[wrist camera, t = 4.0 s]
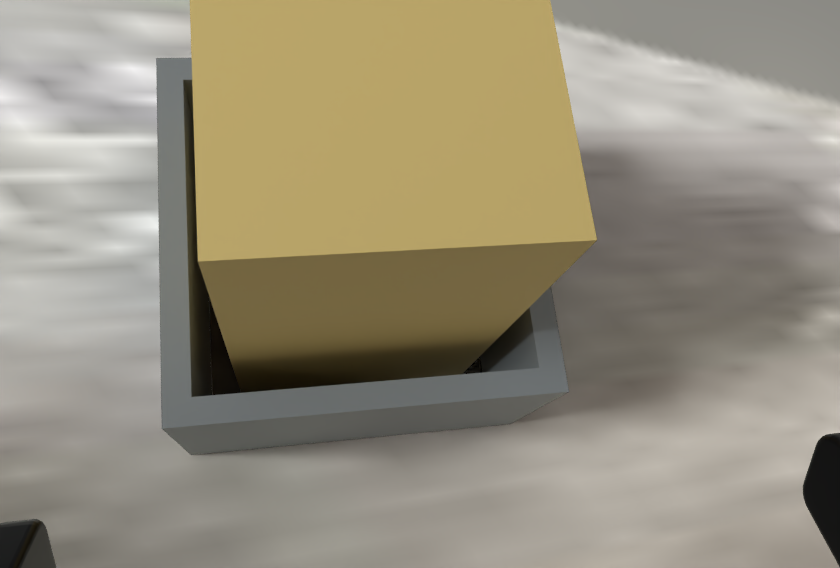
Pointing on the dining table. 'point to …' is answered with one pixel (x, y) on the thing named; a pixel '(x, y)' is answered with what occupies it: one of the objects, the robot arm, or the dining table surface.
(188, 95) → the sleeve
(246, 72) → the ochre block
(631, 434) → the dining table surface
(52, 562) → the robot arm
